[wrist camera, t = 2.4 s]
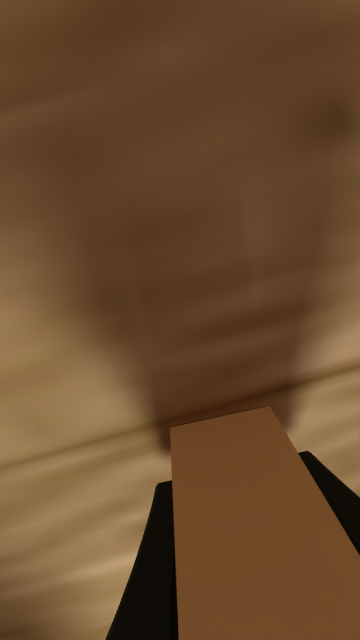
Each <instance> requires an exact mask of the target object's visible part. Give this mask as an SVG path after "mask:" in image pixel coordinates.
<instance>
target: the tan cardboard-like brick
mask: <svg viewBox="0 0 360 640" xmlns="http://www.w3.org/2000/svg"><path fill="white" fill-rule="evenodd" d="M170 440H171V464H172V488H173V512H174V536H175V560H176V584H177V608H178V631H179V640H360V555H359V554H358V552H357V550H356V549H355V547H354V545H353V544H352V542H351V540H350V539H349V537H348V535H347V534H346V532H345V530H344V529H343V527H342V525H341V524H340V522H339V521H338V519H337V517H336V516H335V514H334V512H333V511H332V509H331V507H330V506H329V504H328V502H327V501H326V499H325V497H324V496H323V494H322V492H321V491H320V489H319V487H318V486H317V484H316V482H315V481H314V479H313V477H312V476H311V474H310V472H309V471H308V469H307V467H306V466H305V464H304V462H303V461H302V459H301V457H300V456H299V454H298V452H297V451H296V449H295V447H294V446H293V444H292V442H291V441H290V439H289V438H288V436H287V434H286V433H285V431H284V429H283V428H282V426H281V424H280V423H279V421H278V419H277V418H276V416H275V414H274V413H273V411H272V409H271V408H270V406H266V407H262V408H257V409H253V410H248V411H244V412H239V413H234V414H230V415H225V416H221V417H216V418H212V419H207V420H202V421H198V422H193V423H189V424H184V425H180V426H175V427H170Z"/></svg>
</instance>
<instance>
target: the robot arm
mask: <svg viewBox="0 0 360 640" xmlns="http://www.w3.org/2000/svg"><path fill="white" fill-rule="evenodd" d="M298 454H299V456H300V457H301V459H302V461H303V462H304V464H305V466H306V467H307V469H308V471H309V472H310V474H311V476H312V477H313V479H314V481H315V482H316V484H317V486H318V487H319V489H320V491H321V492H322V494H323V496H324V497H325V499H326V501H327V502H328V504H329V506H330V507H331V509H332V511H333V512H334V514H335V516H336V517H337V519H338V521H339V522H340V524H341V525H342V527H343V529H344V530H345V532H346V534H347V535H348V537H349V539H350V540H351V542H352V544H353V545H354V547H355V549H356V550H357V552H358V554H359V555H360V497H359V496H358V495H356V494H355V493H354V492H353V491H352V490H351V489H349V488H348V487H347V486H346V485H345V484H344V483H343V482H342V481H341V480H339V479H338V478H337V477H336V476H335V475H334V474H333V473H332V472H331V471H330V470H328V469H327V468H326V467H325V466H324V465H323V464H322V463H321V462H320V461H319V460H318V459H317V458H316V457H315V456H314V455H313V454H312V453H310V452H309V451H305V452H300V453H298ZM105 640H179V631H178V608H177V584H176V560H175V536H174V512H173V488H172V480H171V481H166V482H162V483H158V485H157V486H156V489H155V493H154V498H153V502H152V506H151V510H150V514H149V518H148V521H147V525H146V528H145V532H144V535H143V538H142V541H141V544H140V547H139V550H138V554H137V557H136V560H135V563H134V566H133V569H132V572H131V574H130V577H129V580H128V583H127V585H126V588H125V591H124V593H123V596H122V599H121V601H120V604H119V607H118V610H117V612H116V615H115V617H114V620H113V622H112V625H111V627H110V630H109V632H108V634H107V637H106V639H105Z"/></svg>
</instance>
